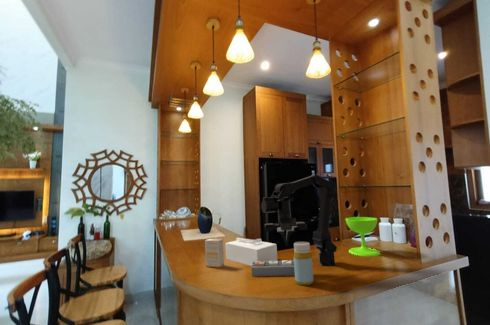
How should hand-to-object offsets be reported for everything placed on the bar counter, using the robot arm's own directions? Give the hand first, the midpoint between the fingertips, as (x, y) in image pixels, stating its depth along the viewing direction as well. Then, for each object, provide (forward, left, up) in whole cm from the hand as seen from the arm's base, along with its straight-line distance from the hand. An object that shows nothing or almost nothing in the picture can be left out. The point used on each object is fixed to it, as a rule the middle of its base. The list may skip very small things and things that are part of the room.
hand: (286, 245), depth 111 cm
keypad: (+7, +1, -11) cm, 13 cm away
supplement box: (+36, -10, -11) cm, 39 cm away
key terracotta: (+13, +1, -9) cm, 15 cm away
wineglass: (-43, -27, -11) cm, 52 cm away
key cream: (+1, +1, -9) cm, 9 cm away
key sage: (+7, +1, -9) cm, 11 cm away
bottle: (-5, +14, -11) cm, 18 cm away
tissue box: (+18, -20, -12) cm, 29 cm away
